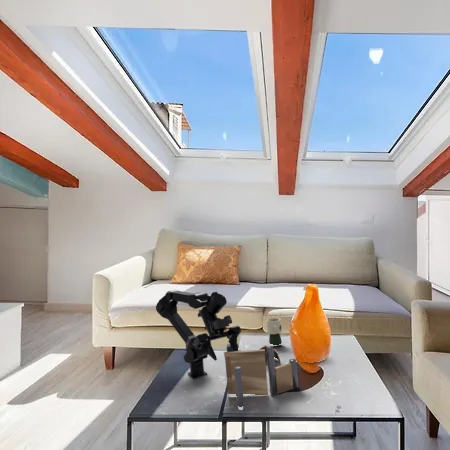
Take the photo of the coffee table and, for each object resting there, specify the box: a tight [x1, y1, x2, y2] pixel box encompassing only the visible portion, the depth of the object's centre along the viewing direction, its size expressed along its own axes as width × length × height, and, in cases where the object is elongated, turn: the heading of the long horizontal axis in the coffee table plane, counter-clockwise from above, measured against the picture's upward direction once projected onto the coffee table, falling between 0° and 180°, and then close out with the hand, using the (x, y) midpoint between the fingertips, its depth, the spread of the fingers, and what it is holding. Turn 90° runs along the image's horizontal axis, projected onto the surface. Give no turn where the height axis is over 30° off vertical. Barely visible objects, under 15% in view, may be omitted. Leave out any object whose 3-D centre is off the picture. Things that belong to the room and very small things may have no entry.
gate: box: [223, 349, 269, 396], centre depth 135 cm, size 2×14×16 cm, turn 87°
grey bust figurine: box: [226, 328, 240, 352], centre depth 184 cm, size 6×8×11 cm
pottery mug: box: [258, 345, 281, 363], centre depth 166 cm, size 12×10×8 cm
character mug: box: [265, 317, 283, 345], centre depth 187 cm, size 11×7×13 cm, turn 0°
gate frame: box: [234, 345, 299, 407], centre depth 133 cm, size 4×26×17 cm, turn 117°
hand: (226, 357), depth 141 cm, fingers open, 9 cm apart
